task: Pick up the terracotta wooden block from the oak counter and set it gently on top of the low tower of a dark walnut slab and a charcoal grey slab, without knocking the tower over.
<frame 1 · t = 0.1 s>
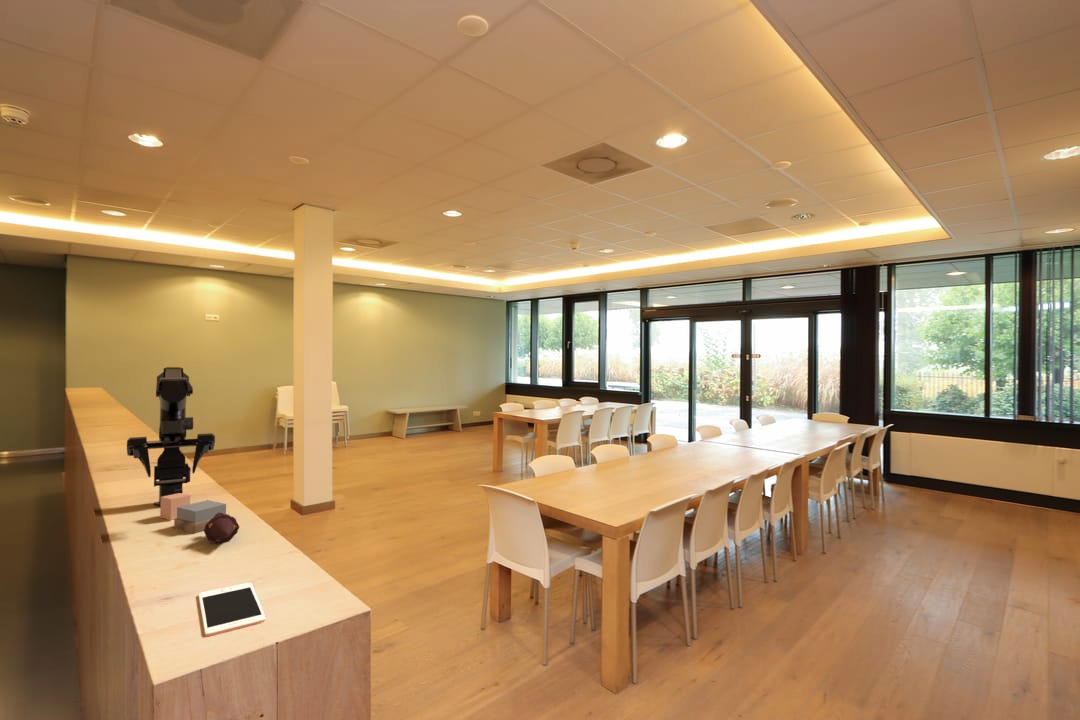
hand: (171, 474, 132), 15 cm above the counter, tool tilted 30°, fingers open, 9 cm apart
block: (175, 517, 145), on the counter
tower top: (201, 516, 138), point 2 cm above the counter
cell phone: (230, 611, 93), on the counter
tower bottom: (202, 527, 138), on the counter
maroon plush toy: (221, 542, 126), on the counter
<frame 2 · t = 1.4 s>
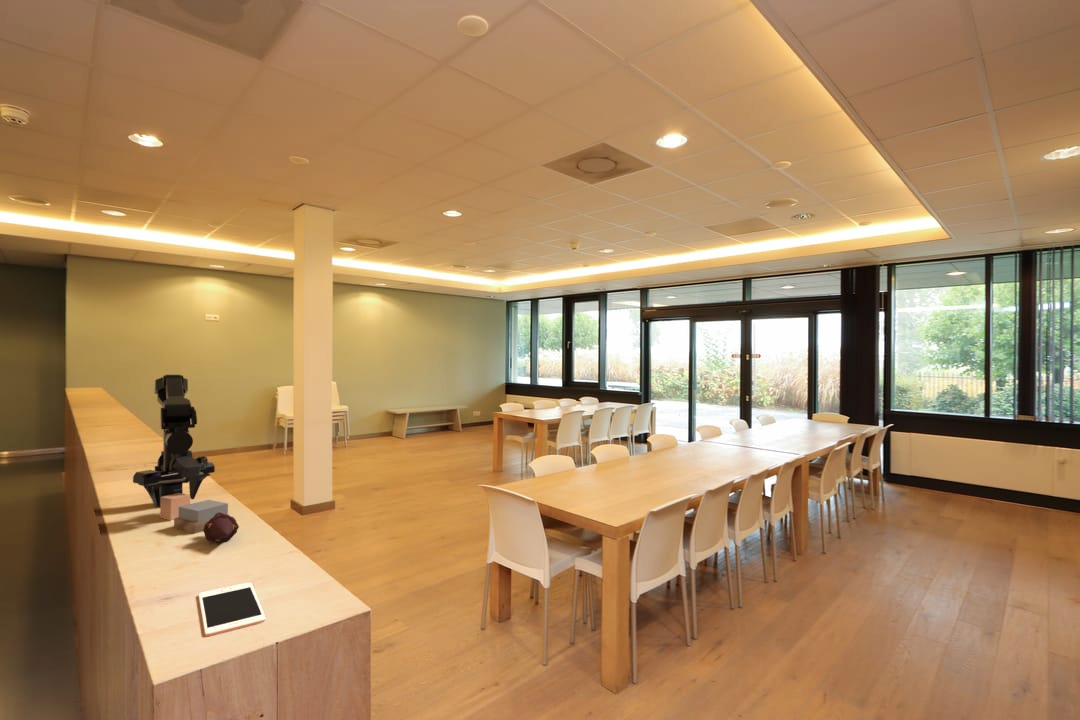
hand: (175, 502, 145), 4 cm above the counter, tool pointing down, fingers open, 9 cm apart
nothing on the counter moved.
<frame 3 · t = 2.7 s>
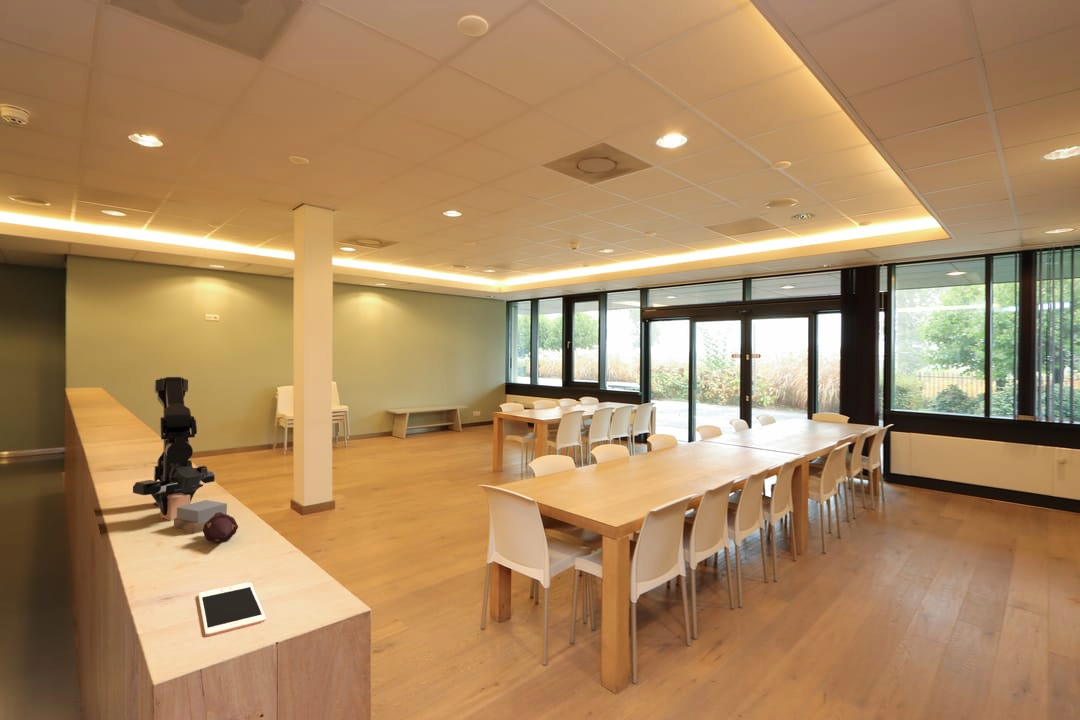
hand: (175, 512, 145), 1 cm above the counter, tool pointing down, fingers closed on block, 5 cm apart
block: (175, 517, 145), on the counter, touching gripper
tower top: (202, 516, 138), point 2 cm above the counter, touching tower bottom
tower bottom: (201, 527, 138), on the counter, touching tower top
everything else where it was.
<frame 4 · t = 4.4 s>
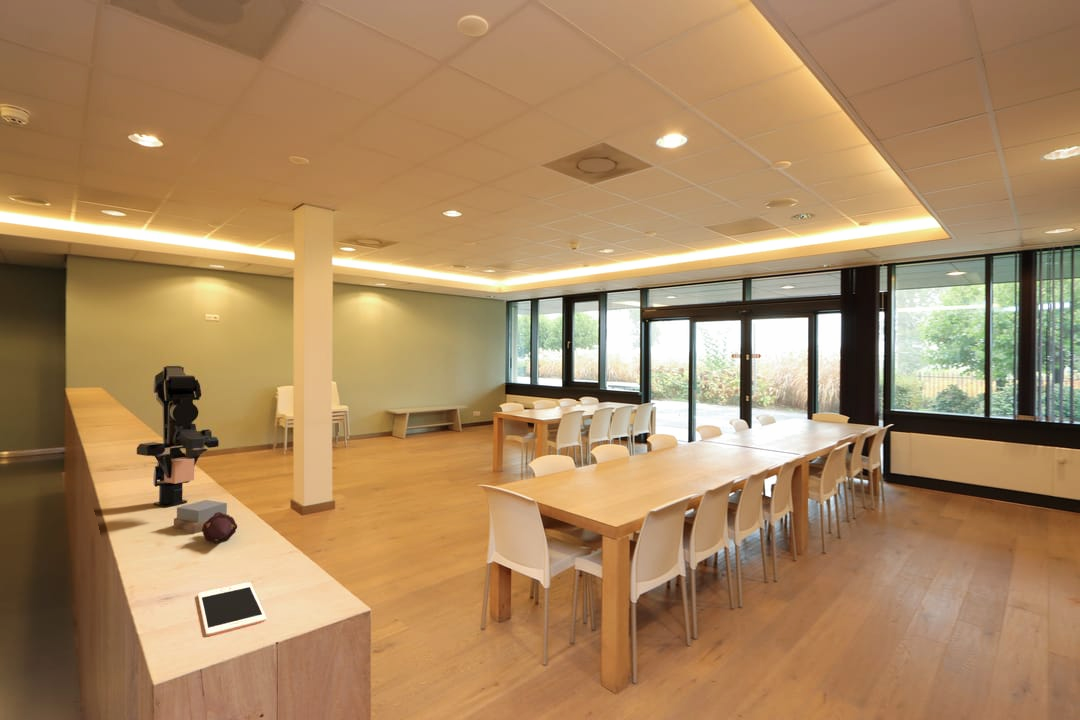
hand: (179, 476, 144), 12 cm above the counter, tool pointing down, fingers closed on block, 5 cm apart
block: (179, 480, 144), point 10 cm above the counter, touching gripper
everything else where it was.
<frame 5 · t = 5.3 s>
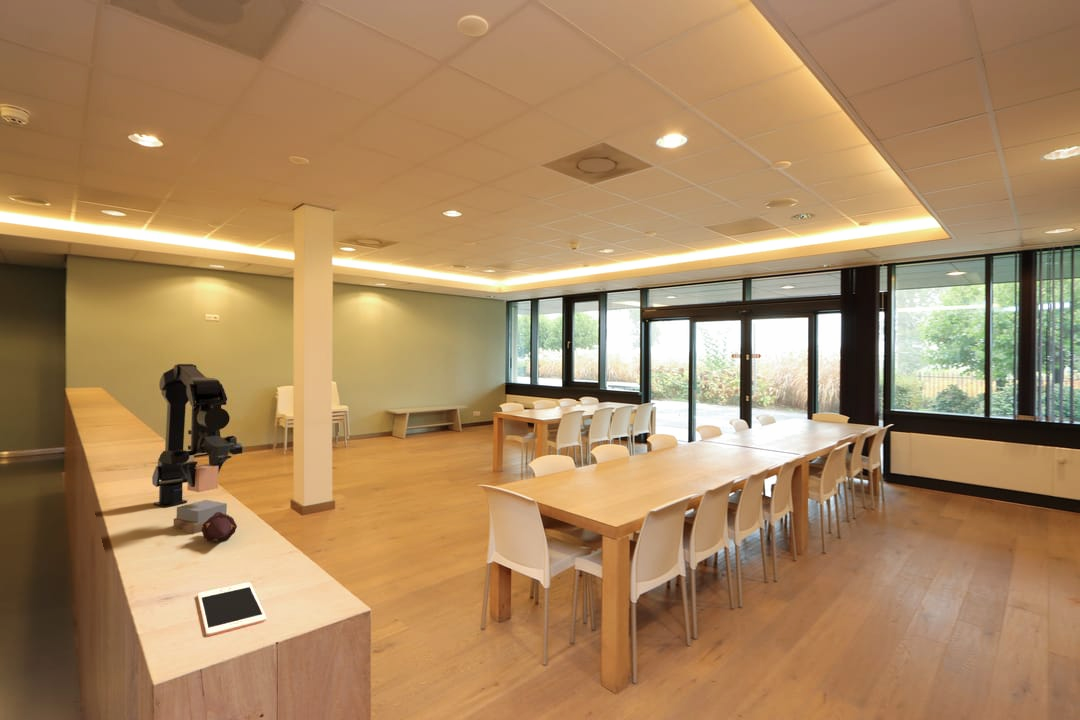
hand: (202, 484, 138), 11 cm above the counter, tool pointing down, fingers closed on block, 5 cm apart
block: (202, 489, 138), point 10 cm above the counter, touching gripper
everything else where it was.
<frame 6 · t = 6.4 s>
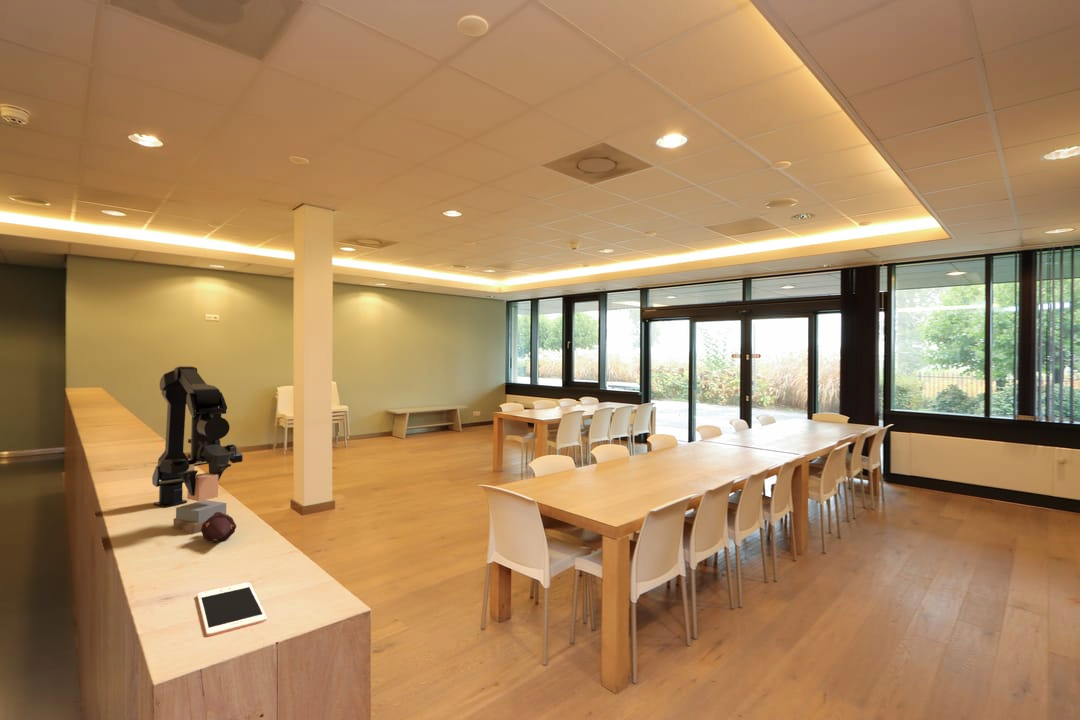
hand: (202, 493, 138), 9 cm above the counter, tool pointing down, fingers closed on block, 5 cm apart
block: (202, 497, 138), point 7 cm above the counter, touching gripper
when the fingers open (9 cm above the counter, at t = 6.5 s): block drops 2 cm, resting on tower top.
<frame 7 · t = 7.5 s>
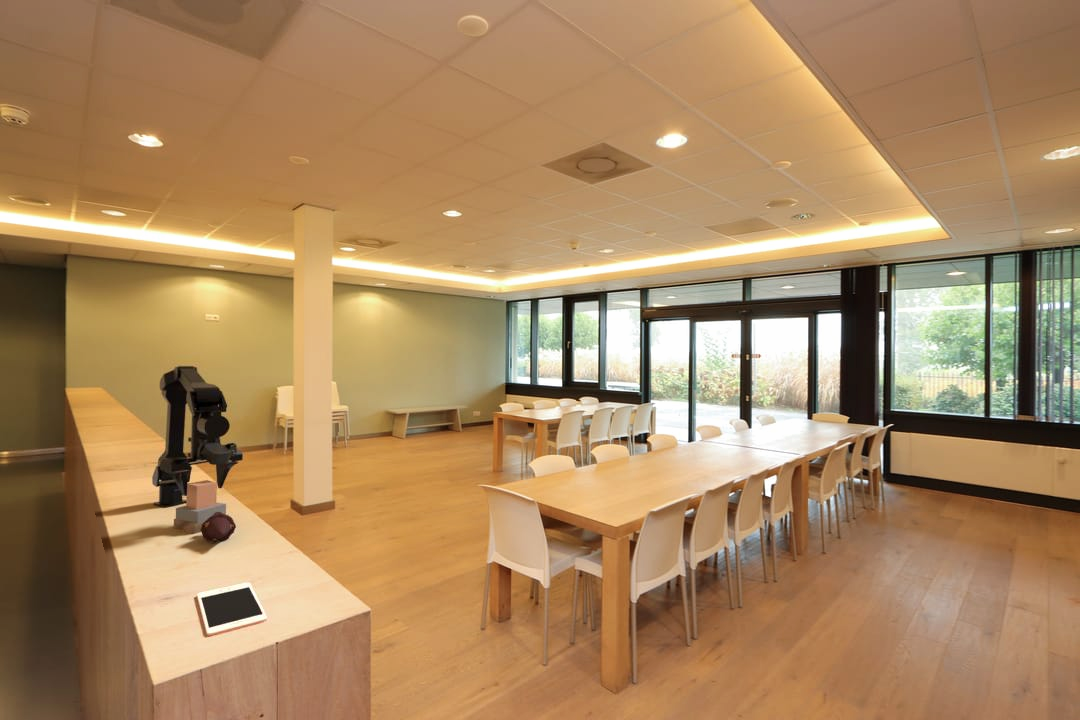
hand: (202, 491, 138), 9 cm above the counter, tool pointing down, fingers open, 9 cm apart
block: (201, 505, 138), point 5 cm above the counter, touching tower top
tower top: (201, 517, 137), point 2 cm above the counter, touching block, tower bottom
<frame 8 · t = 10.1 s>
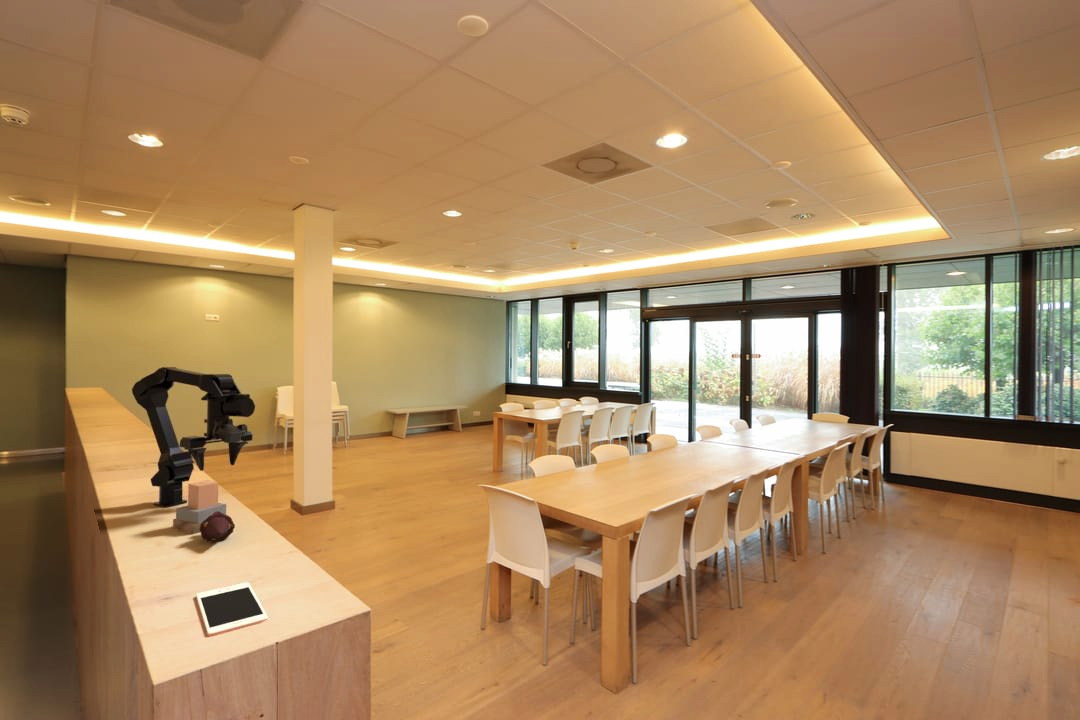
hand: (217, 467, 154), 12 cm above the counter, tool pointing down, fingers open, 9 cm apart
at the end: block 0.6 cm off-centre on the tower bottom, point 6.0 cm above the tower bottom's base; tower top 0.1 cm off-centre on the tower bottom, point 3.0 cm above the tower bottom's base; tower bottom moved 0.7 cm from its start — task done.
